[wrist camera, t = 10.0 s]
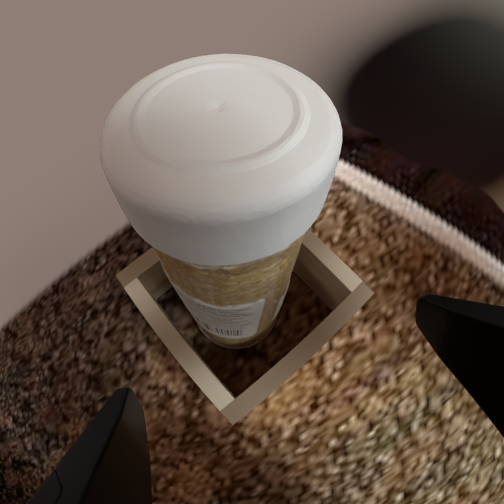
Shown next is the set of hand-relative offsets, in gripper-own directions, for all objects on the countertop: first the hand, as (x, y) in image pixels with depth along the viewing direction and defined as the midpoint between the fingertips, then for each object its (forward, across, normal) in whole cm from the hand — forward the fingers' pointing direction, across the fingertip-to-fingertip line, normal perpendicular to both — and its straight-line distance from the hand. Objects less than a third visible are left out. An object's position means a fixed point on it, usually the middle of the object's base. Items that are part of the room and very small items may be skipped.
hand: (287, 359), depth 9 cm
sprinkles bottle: (+9, +1, +3) cm, 9 cm away
